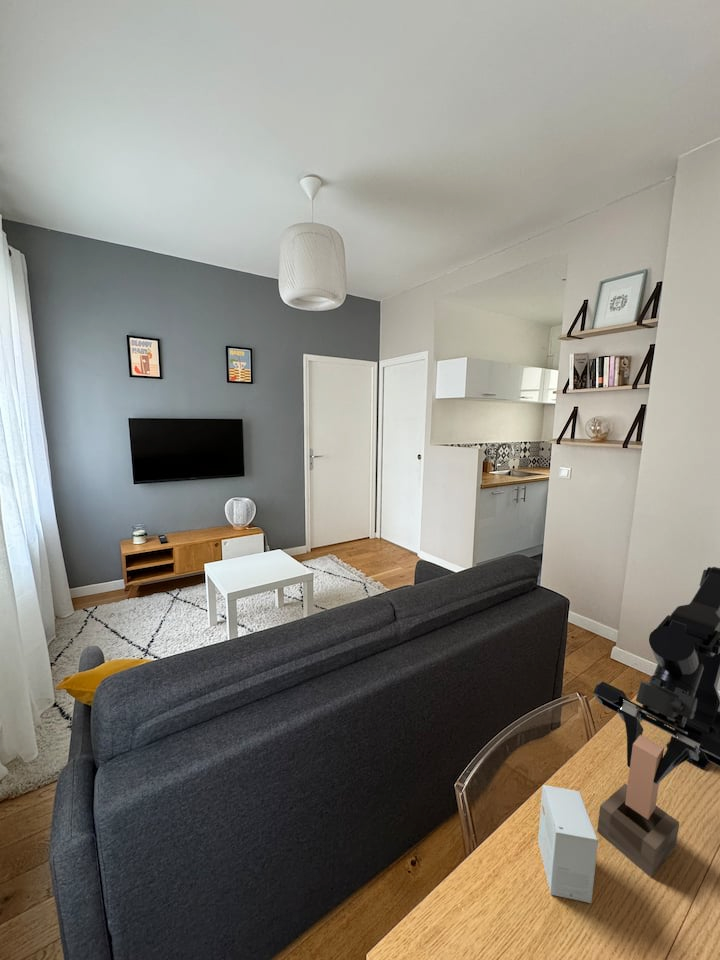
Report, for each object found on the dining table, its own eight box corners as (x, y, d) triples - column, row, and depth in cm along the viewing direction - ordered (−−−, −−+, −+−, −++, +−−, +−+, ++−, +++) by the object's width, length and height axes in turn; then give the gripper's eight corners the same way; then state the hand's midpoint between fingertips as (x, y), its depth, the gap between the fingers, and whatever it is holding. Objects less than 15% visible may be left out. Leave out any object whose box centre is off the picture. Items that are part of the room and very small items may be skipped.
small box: (592, 905, 57) (599, 841, 55) (549, 895, 58) (555, 833, 56) (574, 847, 65) (580, 790, 63) (536, 839, 66) (542, 783, 64)
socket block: (621, 808, 71) (625, 783, 71) (675, 849, 65) (679, 822, 64) (597, 831, 67) (600, 805, 66) (651, 877, 60) (655, 849, 60)
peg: (632, 793, 67) (640, 734, 65) (655, 808, 65) (664, 747, 63) (624, 804, 65) (632, 743, 64) (648, 819, 63) (656, 757, 61)
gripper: (603, 638, 71) (567, 722, 66) (747, 697, 56) (714, 810, 52) (616, 663, 77) (584, 742, 72) (750, 722, 62) (721, 826, 57)
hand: (641, 774), depth 63 cm, fingers closed on peg, 3 cm apart
